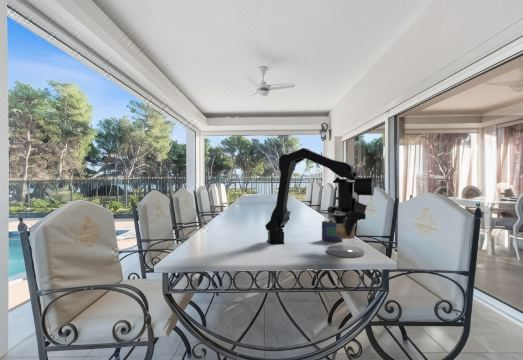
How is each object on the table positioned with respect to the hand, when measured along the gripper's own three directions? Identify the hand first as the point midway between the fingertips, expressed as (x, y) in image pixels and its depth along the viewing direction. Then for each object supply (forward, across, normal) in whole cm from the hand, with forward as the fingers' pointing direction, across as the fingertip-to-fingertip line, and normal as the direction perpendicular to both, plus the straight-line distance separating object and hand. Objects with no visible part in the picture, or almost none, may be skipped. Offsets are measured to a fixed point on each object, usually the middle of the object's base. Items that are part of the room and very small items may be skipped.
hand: (345, 234), depth 112 cm
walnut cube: (+1, 0, 0) cm, 1 cm away
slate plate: (+7, 0, 0) cm, 7 cm away
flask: (+8, +18, -4) cm, 20 cm away
